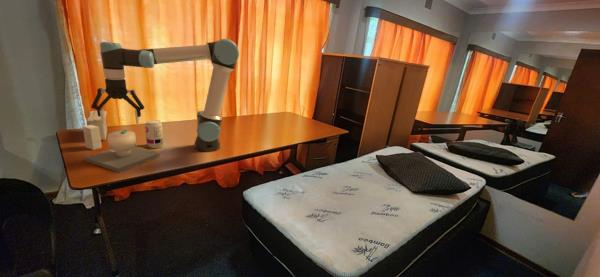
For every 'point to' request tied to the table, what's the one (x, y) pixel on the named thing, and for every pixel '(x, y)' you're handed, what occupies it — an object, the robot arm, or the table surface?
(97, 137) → the skincare box
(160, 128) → the supplement can
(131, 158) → the base
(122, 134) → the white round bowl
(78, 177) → the table surface
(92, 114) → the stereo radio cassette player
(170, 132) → the table surface
